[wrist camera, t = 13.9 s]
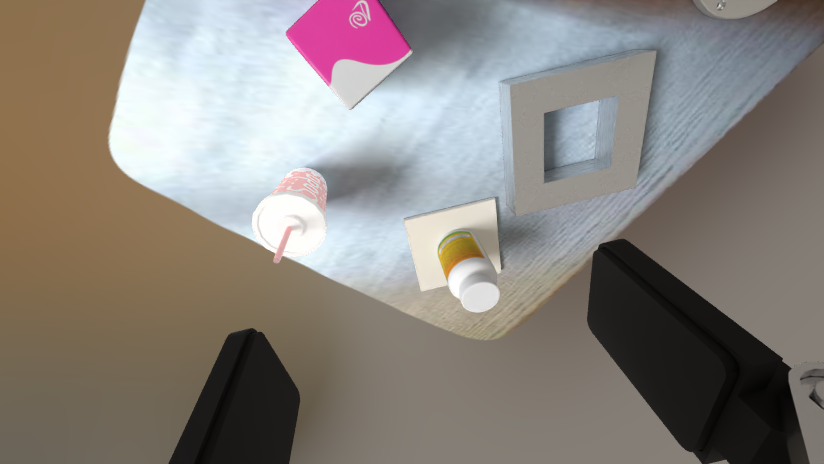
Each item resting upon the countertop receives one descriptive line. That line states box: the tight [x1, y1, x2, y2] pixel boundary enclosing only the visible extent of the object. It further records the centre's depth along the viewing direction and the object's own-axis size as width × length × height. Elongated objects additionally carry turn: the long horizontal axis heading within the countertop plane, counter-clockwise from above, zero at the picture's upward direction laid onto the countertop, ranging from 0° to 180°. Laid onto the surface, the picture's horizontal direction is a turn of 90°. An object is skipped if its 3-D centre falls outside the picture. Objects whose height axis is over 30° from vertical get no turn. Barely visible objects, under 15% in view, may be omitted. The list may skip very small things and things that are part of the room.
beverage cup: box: [252, 167, 327, 263], centre depth 30 cm, size 6×6×14 cm
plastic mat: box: [404, 197, 501, 291], centre depth 42 cm, size 11×11×1 cm
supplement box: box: [286, 0, 413, 110], centre depth 25 cm, size 6×6×12 cm
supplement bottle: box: [437, 230, 500, 312], centre depth 38 cm, size 5×5×10 cm
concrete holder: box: [499, 50, 657, 216], centre depth 36 cm, size 14×14×3 cm
